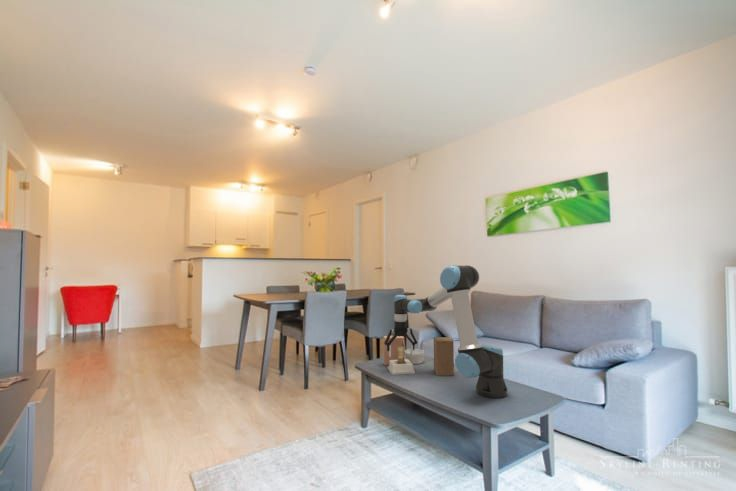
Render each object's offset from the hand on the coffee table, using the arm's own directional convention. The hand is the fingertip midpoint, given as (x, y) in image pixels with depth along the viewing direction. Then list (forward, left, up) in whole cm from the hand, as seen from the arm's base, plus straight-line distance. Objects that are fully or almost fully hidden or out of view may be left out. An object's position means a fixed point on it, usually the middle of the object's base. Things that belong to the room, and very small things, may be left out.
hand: (400, 356), depth 217 cm
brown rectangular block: (+12, +2, -9) cm, 15 cm away
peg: (0, 0, -8) cm, 8 cm away
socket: (0, 0, -9) cm, 9 cm away
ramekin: (+18, -13, -9) cm, 24 cm away
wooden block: (-8, -24, -9) cm, 27 cm away
